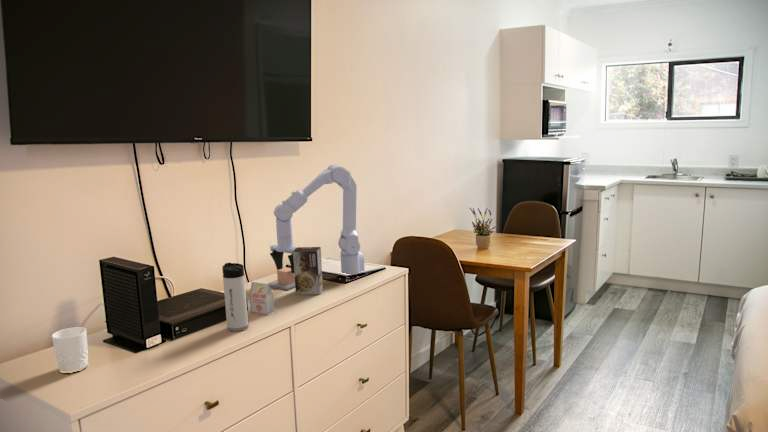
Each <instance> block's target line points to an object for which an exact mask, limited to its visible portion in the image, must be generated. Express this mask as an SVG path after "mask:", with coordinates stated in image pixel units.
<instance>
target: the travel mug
mask: <svg viewBox="0 0 768 432" xmlns="http://www.w3.org/2000/svg"><path fill="white" fill-rule="evenodd" d="M222 282H223V294H224V304H225V306H224V307H225V318H226V329H227V330H228V331H229V332H232V331H238V332H242V331H241V330H243V331H245V330H247V329H248V328H249V318H248V306H247V305H248V303H247V293H246V290H247V289H246V279H245V268H244V265H243V264H241V263H238V262H237V263H236V262H235V263H234V262H226V263H224V265H223V266H222ZM244 329H245V330H244Z"/></svg>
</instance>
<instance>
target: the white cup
mask: <svg viewBox="0 0 768 432" xmlns="http://www.w3.org/2000/svg"><path fill="white" fill-rule="evenodd" d="M51 339H52V344H53V349H54V355H55V359H56V362H57V366H58V371H59V370H62V371H72V370H77V369H80V368H82V367H85V366H86V365H87V364H88V365H89V348H88V347H89V346H88V334H87V328H86V327H83V326H82V327H81V326H72V327H68V328H62V329H60V330H58V331H55V332H53V333H52V335H51Z"/></svg>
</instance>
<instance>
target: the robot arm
mask: <svg viewBox="0 0 768 432" xmlns="http://www.w3.org/2000/svg"><path fill="white" fill-rule="evenodd" d="M351 174H352V173H351V172H350V171H349V169H347V168H345V167H343V166H339V165H337V164H331V165H329V166H328V167H327V168H326V169H324V170H322V171H321V172H320V173H319V174H318V175H317V176H316V177H315V178H314V179H312V181H311V182H309V184H307V185H306V186H305V187H304V188H303V189H302V190H296V191H292V192H291V195H289V196H288V197H287V198H286V199H284V200H282V201H281V204H278V205H276V206H275V208H274V211H273V215H274V217H276V218H275V222H276V225H275V226H276V227H275V229H276V240H277V241H276V242H277V244H276V245H275V244H273V245H270V247H269V251H270V253H269V254H270V256H271V258H272V260H273V261H274V264H275V267H276V271H277V270H280V269H283V268H284V267H283V266H284V265H283V264H284V263H283V259H284V253H287V254H289V255H287V258H288V261H289V263H290V268H291V271H292V273H294V261H293V251H294V250H295V249H296V248H297V247H296V246H294V241H293V228H292V218H293V216H294V215H293V214H294V213H296V212H297V211H298V210H299V209H301V207H303V206H304V205H306V203H308V197H310V196H311V195H313V194H314V193H315V192H317V191H318V190H319V189H321V187H323V186H324V185H330V184H334V183H336V184H337V185H338V186H339V187H340V188H341V189H342V229H341V231H340V236H339V237H340V238H339V239H338V243H337V244H338V247H339V248H340V267H341V268H340V271H341V272H342V273H346V274H356V273H359V272H361V271H365V257H364V254H363V253H362V252H361V251H360V250H361V243H360V241H359V235H358V232H357V187H358V186H357V183H356V182H355V180H354V177H352V175H351ZM365 272H366V271H365ZM358 277H359V276H357V277H356V278H358Z"/></svg>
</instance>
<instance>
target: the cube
mask: <svg viewBox="0 0 768 432" xmlns="http://www.w3.org/2000/svg"><path fill="white" fill-rule="evenodd" d="M276 274H277V275H276V276H277V280H278V283H280V284H285V285H289V284H291V283H294V282H295V274H294V273H292V271H291V267H287V266H286V267H283V268H282V269H280V270H277V269H276Z"/></svg>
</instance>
